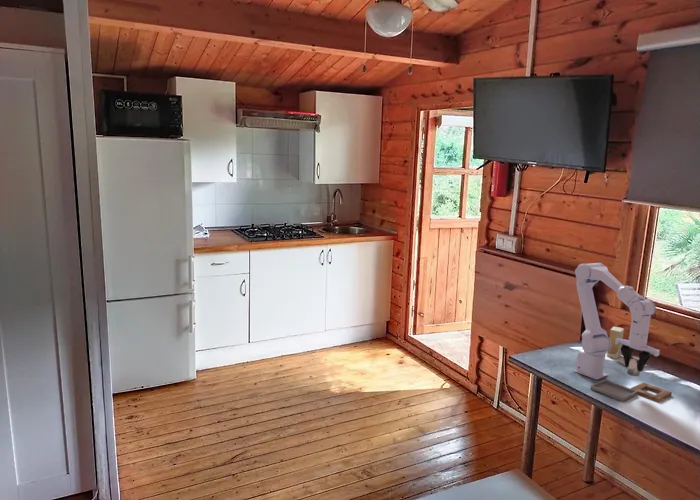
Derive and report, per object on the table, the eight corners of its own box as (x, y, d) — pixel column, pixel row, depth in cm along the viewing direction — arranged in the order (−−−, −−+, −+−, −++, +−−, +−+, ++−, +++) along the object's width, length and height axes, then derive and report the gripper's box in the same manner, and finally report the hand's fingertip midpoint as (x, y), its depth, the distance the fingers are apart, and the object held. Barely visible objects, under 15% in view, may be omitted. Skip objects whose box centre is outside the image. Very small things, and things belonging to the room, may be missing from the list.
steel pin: (624, 373, 191) (627, 357, 190) (630, 370, 194) (632, 355, 192) (635, 377, 188) (638, 361, 187) (641, 374, 190) (643, 359, 189)
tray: (590, 389, 194) (590, 385, 193) (604, 383, 200) (605, 379, 199) (623, 402, 184) (623, 398, 184) (636, 395, 190) (637, 391, 190)
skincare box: (610, 352, 232) (613, 325, 230) (620, 355, 230) (624, 328, 228) (606, 356, 228) (609, 329, 225) (617, 359, 225) (620, 331, 223)
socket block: (629, 391, 193) (630, 388, 193) (642, 385, 199) (643, 382, 199) (658, 402, 185) (659, 399, 185) (671, 395, 191) (671, 392, 191)
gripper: (665, 336, 185) (660, 373, 187) (623, 325, 196) (619, 359, 198) (656, 340, 180) (651, 377, 183) (614, 328, 192) (609, 363, 194)
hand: (633, 368), depth 190 cm, fingers closed on steel pin, 4 cm apart
